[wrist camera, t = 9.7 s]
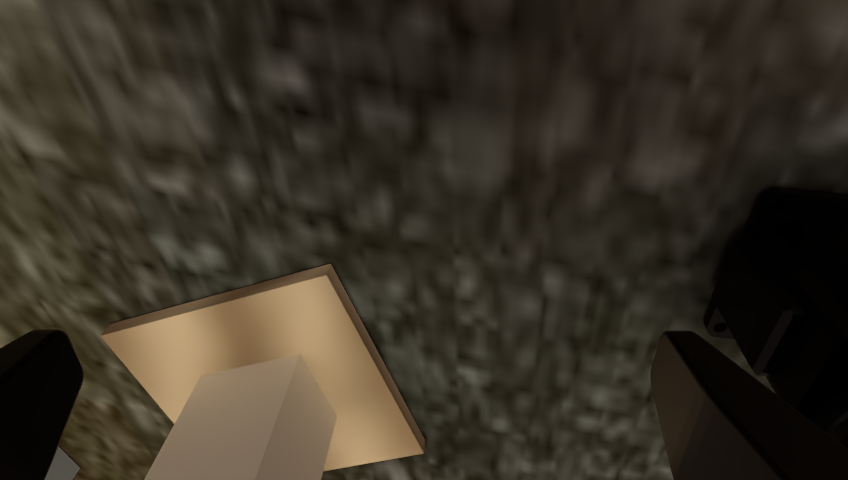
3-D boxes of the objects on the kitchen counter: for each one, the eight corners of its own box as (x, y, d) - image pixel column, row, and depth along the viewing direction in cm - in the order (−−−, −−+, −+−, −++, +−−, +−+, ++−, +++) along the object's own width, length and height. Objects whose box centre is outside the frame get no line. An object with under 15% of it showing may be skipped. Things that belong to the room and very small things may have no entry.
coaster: (330, 263, 23) (326, 275, 23) (424, 439, 29) (423, 453, 28) (110, 324, 26) (100, 335, 25) (233, 474, 31) (228, 488, 31)
